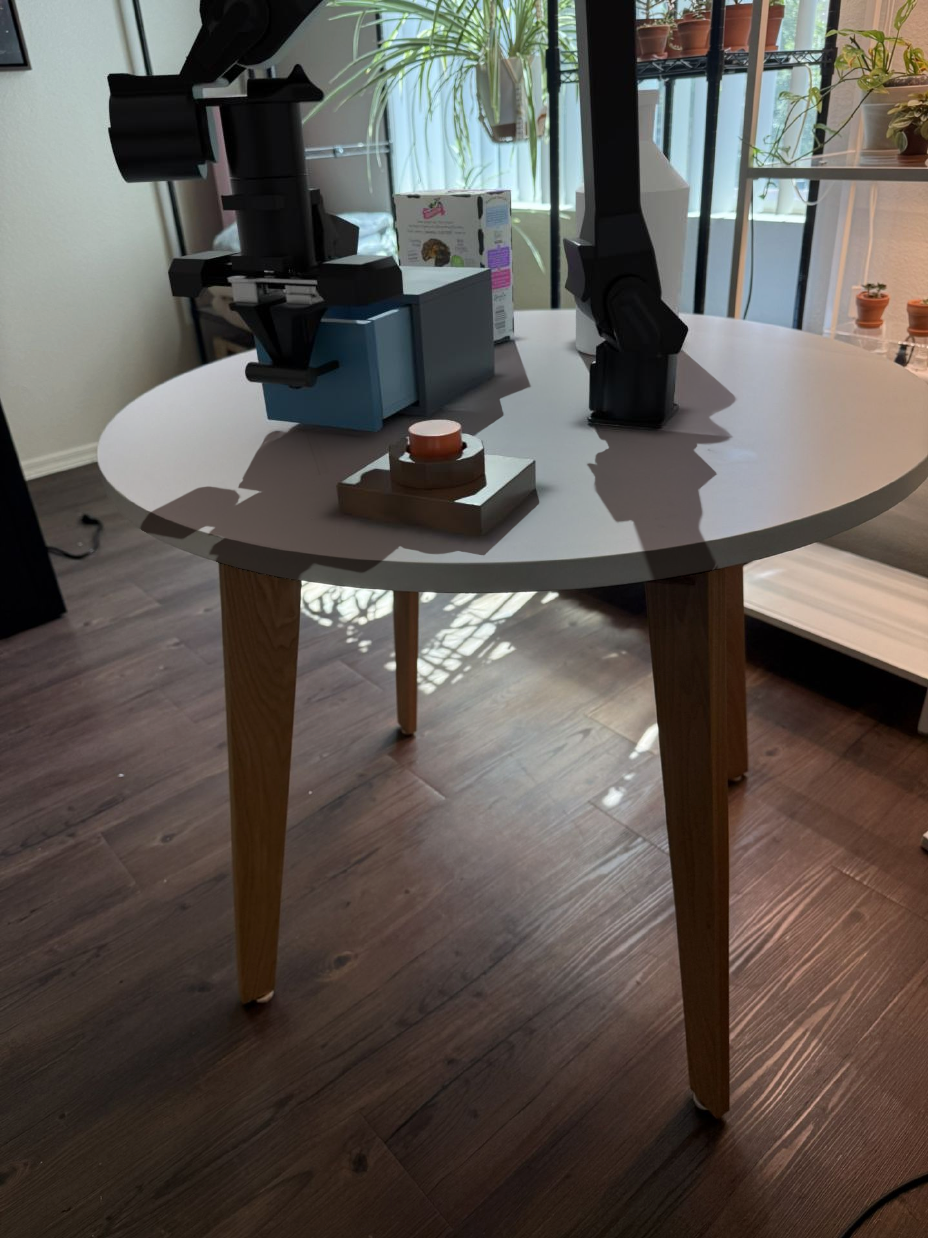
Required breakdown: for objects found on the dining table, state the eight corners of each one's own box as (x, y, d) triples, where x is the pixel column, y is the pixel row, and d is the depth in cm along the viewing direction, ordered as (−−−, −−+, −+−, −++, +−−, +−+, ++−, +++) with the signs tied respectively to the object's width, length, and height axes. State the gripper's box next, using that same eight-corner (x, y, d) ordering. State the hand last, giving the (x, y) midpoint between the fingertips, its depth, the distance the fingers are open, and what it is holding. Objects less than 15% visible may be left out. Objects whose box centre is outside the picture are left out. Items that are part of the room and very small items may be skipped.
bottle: (569, 336, 106) (572, 95, 93) (669, 332, 105) (685, 88, 93) (577, 359, 95) (581, 92, 83) (687, 355, 95) (708, 85, 82)
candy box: (516, 338, 106) (513, 187, 98) (485, 348, 102) (479, 192, 94) (434, 327, 114) (425, 187, 106) (402, 336, 110) (390, 191, 102)
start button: (471, 446, 61) (470, 422, 60) (447, 463, 58) (445, 438, 57) (426, 441, 62) (424, 417, 61) (400, 457, 59) (398, 432, 59)
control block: (536, 488, 63) (535, 434, 61) (482, 537, 56) (479, 478, 54) (404, 471, 68) (399, 420, 66) (339, 514, 61) (332, 459, 59)
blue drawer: (342, 450, 70) (328, 337, 65) (230, 436, 75) (211, 329, 70) (449, 389, 84) (444, 293, 80) (350, 381, 89) (339, 289, 84)
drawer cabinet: (427, 416, 80) (418, 294, 75) (314, 404, 85) (298, 289, 80) (495, 376, 91) (491, 267, 86) (391, 368, 96) (381, 265, 91)
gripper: (432, 167, 67) (442, 372, 75) (239, 171, 75) (267, 357, 82) (352, 177, 58) (373, 408, 66) (144, 181, 66) (185, 387, 74)
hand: (297, 387), depth 72 cm, fingers closed, pressing on blue drawer
